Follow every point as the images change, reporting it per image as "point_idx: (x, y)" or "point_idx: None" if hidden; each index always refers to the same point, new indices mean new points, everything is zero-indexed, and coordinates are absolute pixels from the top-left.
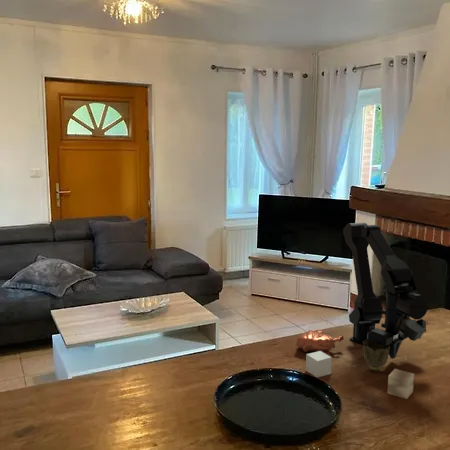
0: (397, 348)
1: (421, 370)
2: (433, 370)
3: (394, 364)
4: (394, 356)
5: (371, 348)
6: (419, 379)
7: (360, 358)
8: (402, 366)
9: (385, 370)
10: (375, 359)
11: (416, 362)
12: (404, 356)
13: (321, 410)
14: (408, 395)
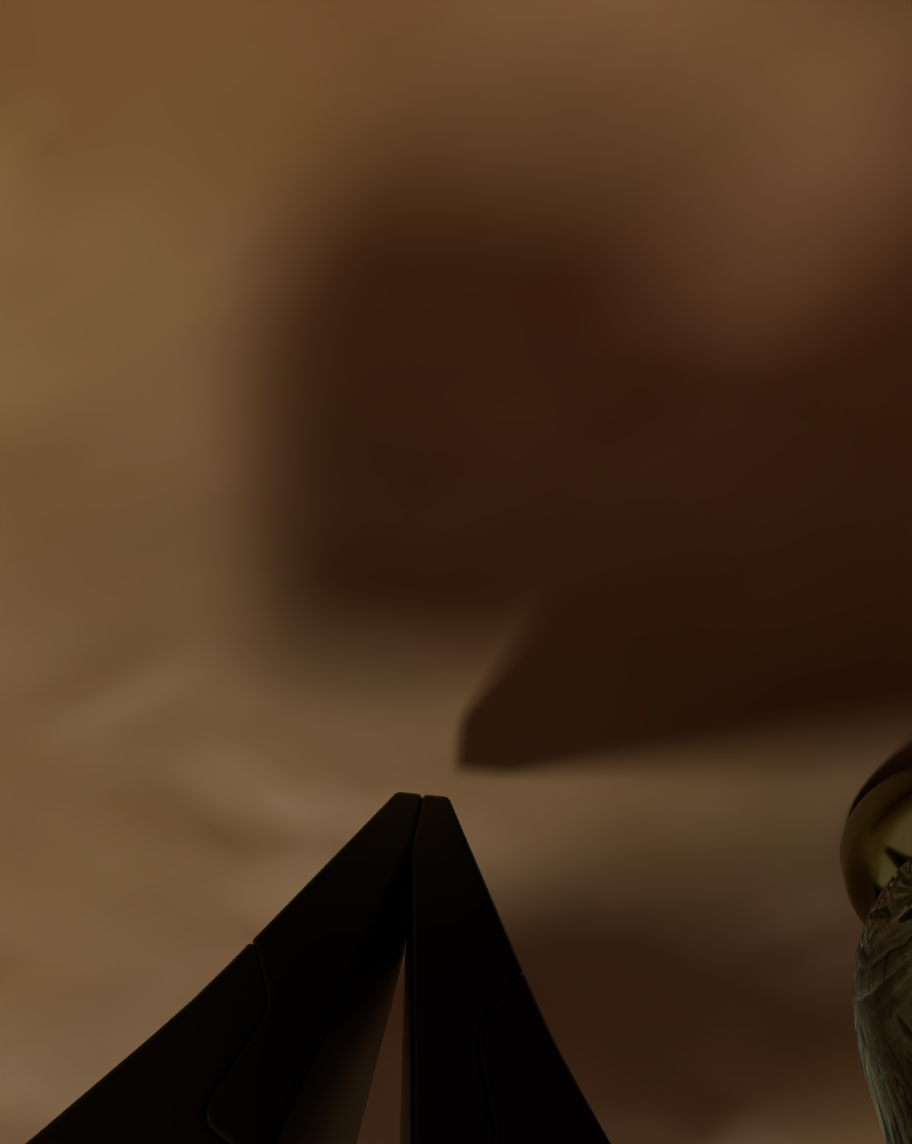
0: (344, 957)
1: (365, 229)
2: (161, 29)
3: (507, 707)
4: (431, 819)
5: None
6: (827, 8)
7: (679, 1099)
8: (479, 579)
9: (849, 704)
10: None
11: (128, 484)
12: (98, 732)
13: None
14: None
